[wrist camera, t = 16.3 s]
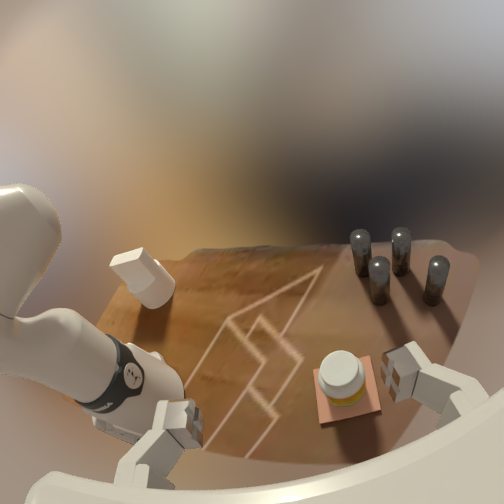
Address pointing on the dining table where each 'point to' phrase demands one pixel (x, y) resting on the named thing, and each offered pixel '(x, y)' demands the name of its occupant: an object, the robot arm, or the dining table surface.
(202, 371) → the dining table surface
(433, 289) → the posts
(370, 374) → the terracotta tile
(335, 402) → the supplement bottle
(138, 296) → the cylinder with rectangular tab
